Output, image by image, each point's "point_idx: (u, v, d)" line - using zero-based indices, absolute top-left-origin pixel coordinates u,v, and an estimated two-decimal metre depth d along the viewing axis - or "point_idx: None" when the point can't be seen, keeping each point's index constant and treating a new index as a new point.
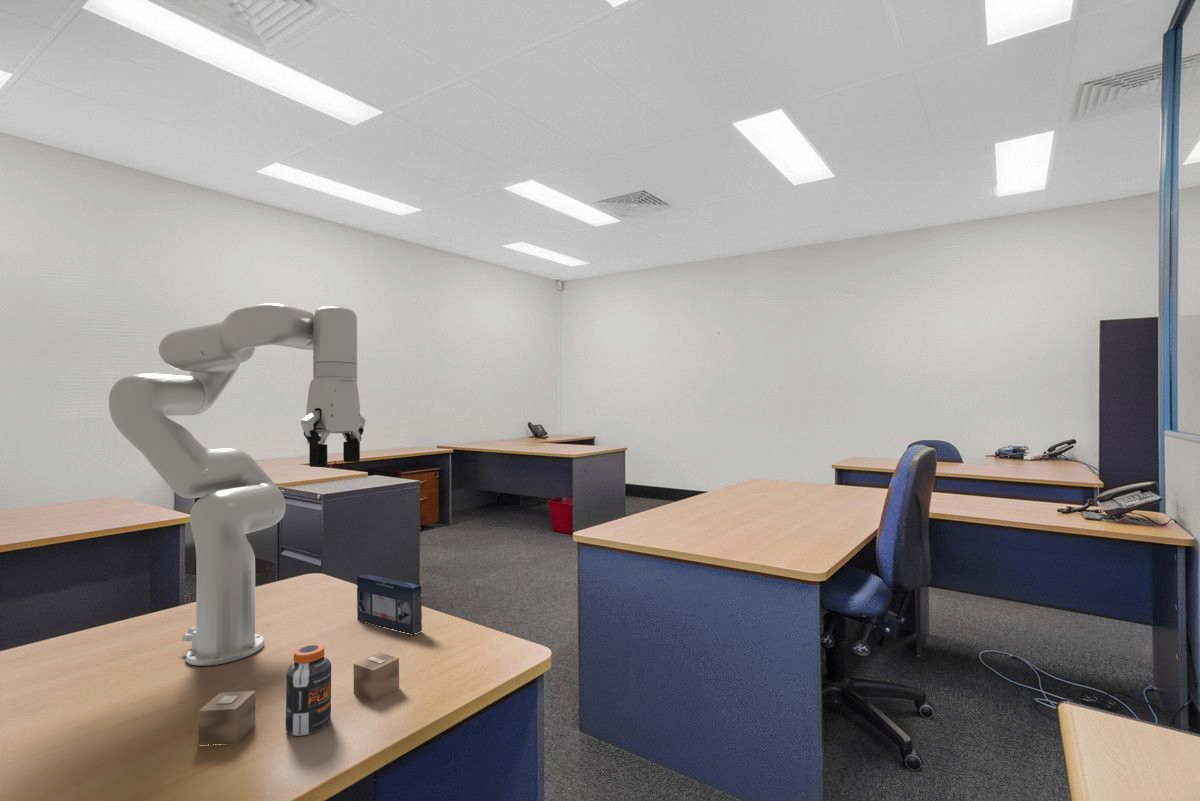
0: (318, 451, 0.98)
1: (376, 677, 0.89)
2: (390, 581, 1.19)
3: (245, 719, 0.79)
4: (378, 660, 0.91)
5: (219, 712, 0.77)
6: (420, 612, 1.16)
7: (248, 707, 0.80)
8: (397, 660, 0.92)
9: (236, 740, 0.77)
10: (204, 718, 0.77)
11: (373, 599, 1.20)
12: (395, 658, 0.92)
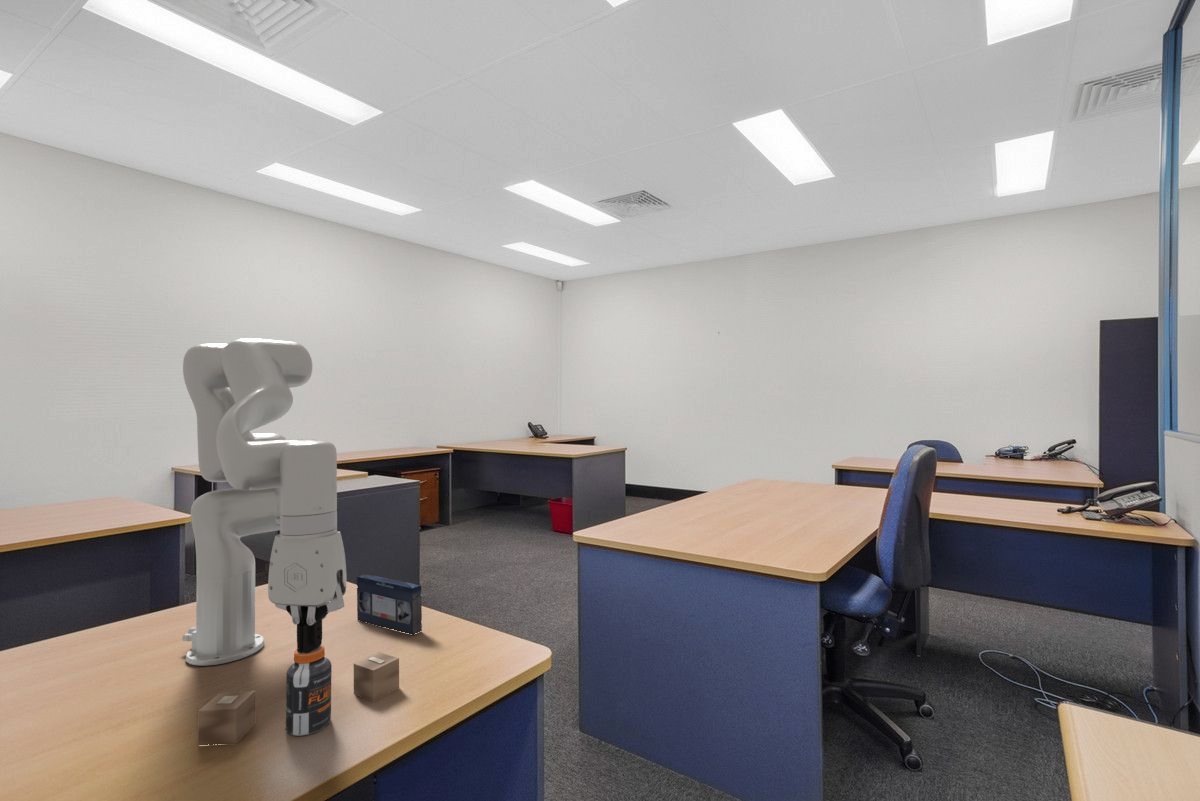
0: (321, 628, 0.82)
1: (376, 677, 0.89)
2: (390, 581, 1.19)
3: (245, 718, 0.79)
4: (378, 660, 0.91)
5: (219, 712, 0.77)
6: (420, 612, 1.16)
7: (248, 707, 0.80)
8: (397, 660, 0.92)
9: (236, 740, 0.77)
10: (204, 718, 0.77)
11: (373, 599, 1.20)
12: (395, 658, 0.92)
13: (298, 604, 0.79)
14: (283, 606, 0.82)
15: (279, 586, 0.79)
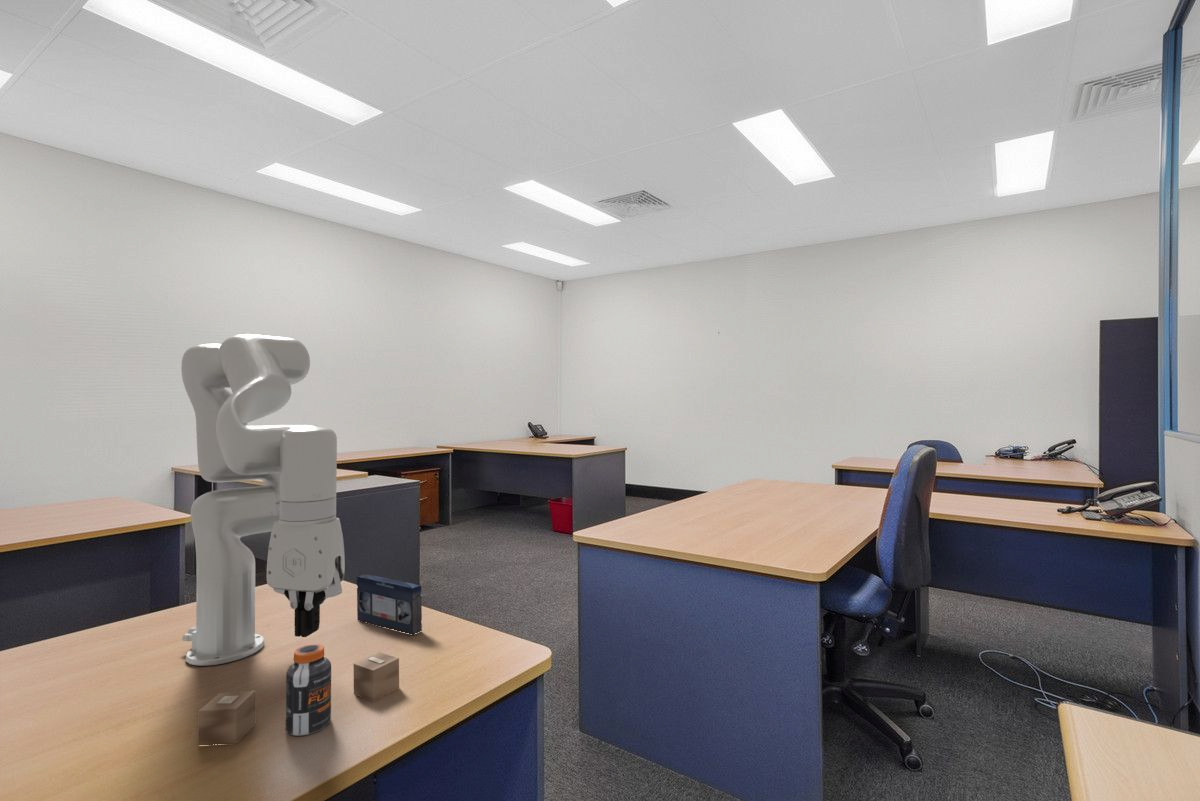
0: (319, 613, 0.82)
1: (376, 677, 0.89)
2: (390, 581, 1.19)
3: (245, 718, 0.79)
4: (378, 660, 0.91)
5: (219, 712, 0.77)
6: (420, 612, 1.16)
7: (248, 707, 0.80)
8: (397, 660, 0.92)
9: (236, 740, 0.77)
10: (204, 718, 0.77)
11: (373, 599, 1.20)
12: (395, 658, 0.92)
13: (296, 589, 0.79)
14: (281, 590, 0.82)
15: (277, 571, 0.80)
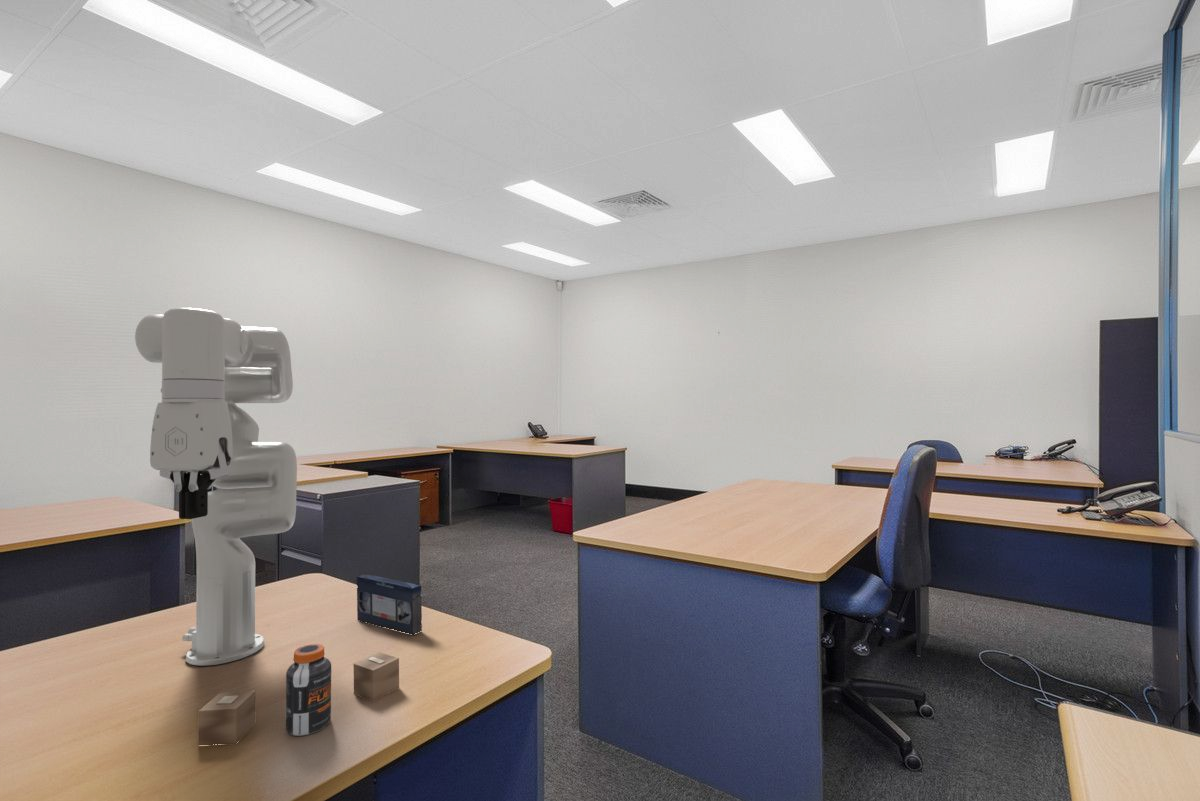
0: (206, 497, 0.81)
1: (376, 677, 0.89)
2: (390, 581, 1.19)
3: (245, 718, 0.79)
4: (378, 660, 0.91)
5: (219, 712, 0.77)
6: (420, 612, 1.16)
7: (248, 707, 0.80)
8: (397, 660, 0.92)
9: (236, 740, 0.77)
10: (204, 718, 0.77)
11: (373, 599, 1.20)
12: (395, 658, 0.92)
13: (178, 468, 0.78)
14: (167, 475, 0.81)
15: (160, 451, 0.79)
